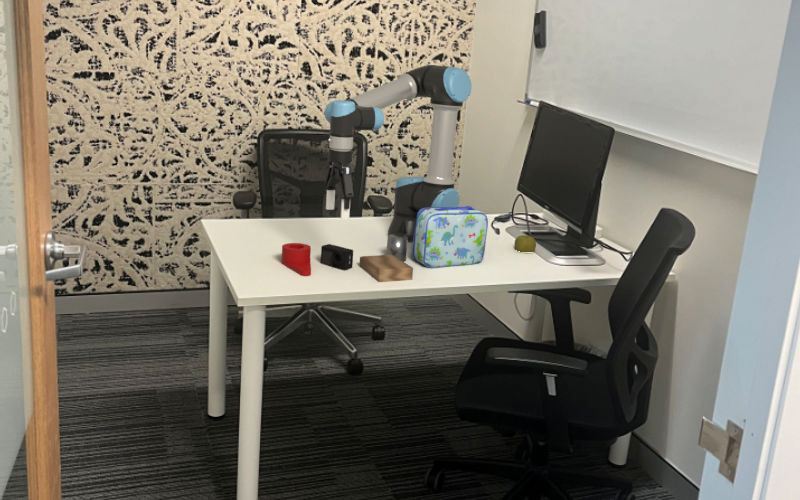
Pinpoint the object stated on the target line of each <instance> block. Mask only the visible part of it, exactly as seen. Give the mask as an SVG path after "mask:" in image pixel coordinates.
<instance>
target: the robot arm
mask: <svg viewBox="0 0 800 500" xmlns="http://www.w3.org/2000/svg"><path fill="white" fill-rule="evenodd" d="M471 81H472V80H471V77H470V75H468V73H467V71H466V70H464V69H463V68H460V67H455V66H446V65H437V64H436V65H435V64H426V65H423V66H420V67H416V68H414V69H411V70H409V71H406V72H404V73H402V74H400V75H399V76H398V78H397V79H395V80H392V81H390V82H387V83H385V84H382V85H380V86H378V87H375V88H372V89H369V90H368V91H365V92H363V93H360V94H358V95H355V96H353V97H351V98H348V99H346V100H345V99H344V100H342V99H340V100H339V99H336V100H333V101H330V102H329V103H327V104H326V106H325V108H324V118H325V120H326V121H327V122H328V123H329V124H330V125H329V126H330V127H329V138H328V141H327V142H329V143H328V144H329V148H330V149H329V150H328V167H327V171H326V175H325V180H324V183H323V186H324V187H325V190H326V193H325V194H326V199H325V210H330V211H332V210H335V199H336V185H337V183H338V182H339V186H340V190H341V195H342V196H341V197H340V200H341V203H340V219H341V220H345V219H346V220H347V219H350V209H351V199H354V197H355V196H354V189H353V188H354V187H353V180H352V179H353V178H352V167H348V164H349V163H351V162H352V161H353V151H352V150H353V148H354V131H375V130H377V131H378V130H380V129H381V128H382V127H383V125H384V122H385V121H384V120H385V115H384V112H383V109H385V108H388V107H390V106H393V105H395V104H397V103H400V102H403V101H404V100H411V101H412V100H413V99H415V98H430V101H429V103H430V106H431V107H432V108H433V114H432V115H433V116H432V122H431V123H432V124H431V125H432V126H431V133H430V134H431V136H430V145H429V154H428V155H429V156H428V167H427V175H426V176H404V177H399V178H398V179H396V183H395V188H394V189H395V190H394V206H393V207H394V208H393V217H392V220H391V222H390V224H389V226H388V229H387V236H388V235H391V234H400V235H405V236H407V237H408V241H407V242H413V237H414V230H415V225H416V218H417V214H418V212H419V210H420V209H422V208H427V207H459V205H460V198H461V197H460V194H459V192H458V191H457V190H456V189H455V181H454V179H453V178H452V171H453V159H454V151H455V150H454V149H455V142H456V134H457V133H456V130H457V123H458V121H457V120H458V113H459V111H460V110H461V109H462V108H463V105H464V102H465V101H466V102H467V100H468V98H469V97H470V95H471V93H472V82H471Z"/></svg>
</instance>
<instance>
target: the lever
mask: <svg viewBox="0 0 800 500" xmlns="http://www.w3.org/2000/svg"><path fill="white" fill-rule="evenodd" d="M311 248H312V247H311V245H309V244H306V243H301V242H292V243H291V242H289V243H284V244H282V246H281V264H282V266H284V267H285V268H287V269H289V270H291V271H292V272H294V273H296V274H298V275H299V276H301V277H311V274H312V265H311V250H312V249H311Z"/></svg>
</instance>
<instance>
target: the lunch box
mask: <svg viewBox="0 0 800 500" xmlns="http://www.w3.org/2000/svg"><path fill="white" fill-rule="evenodd" d="M488 228H489V218H488V216H487V214H486V213H485V212H483V211H482V210H481V211H480V210H478V209H475V208H473V206H469V205H466V206H458V207H427V208H422V209H420V210H419V212H418V214H417V218H416V225H415V230H414V237H413V241H412V245H411V254H412V258H413V260H414V261H415V262H417V263H420V264H422V265H423V266H424V267H427V268H430V269H439V268H440V269H441V268H448V267H449V268H451V267H460V266H461V267H463V266H474V265H479V264H480V263H482V261H483V259H484V255H485V250H486V240H487V235H488Z"/></svg>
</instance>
